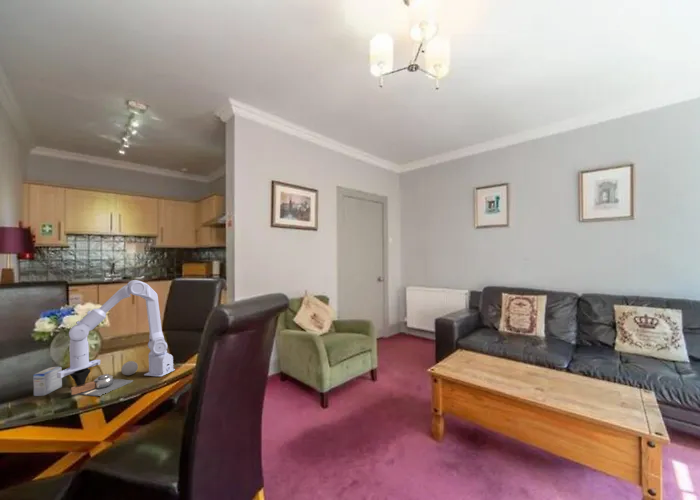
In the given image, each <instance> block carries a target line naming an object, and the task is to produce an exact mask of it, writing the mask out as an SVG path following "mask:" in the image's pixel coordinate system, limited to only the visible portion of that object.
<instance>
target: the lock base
mask: <svg viewBox="0 0 700 500" xmlns="http://www.w3.org/2000/svg"><path fill="white" fill-rule="evenodd" d="M133 382H134V380H133V379H132V380H131V379H130V380H129V379H123V378H122V379H121V378H113V384H111V385H109V386H107V387H103V388H94V389H91V390H88V391H84V392H81V393H77V394H76V395H79V396H80V395H81V396H90V397H98V396H100V397H101V395H102V394H104V395H106V394H108V393H110V391H111V392H112V390H113V391H115V390H117V389H119V388H122V387H123V386H126V385H129V384H131V383H133ZM105 393H106V394H105ZM102 396H103V395H102Z"/></svg>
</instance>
